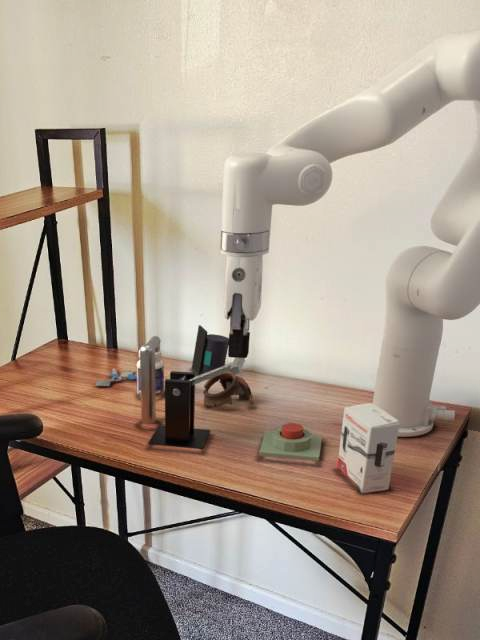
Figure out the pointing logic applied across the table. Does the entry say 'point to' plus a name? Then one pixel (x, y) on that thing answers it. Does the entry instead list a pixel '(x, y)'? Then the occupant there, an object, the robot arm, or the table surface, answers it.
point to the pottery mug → (227, 390)
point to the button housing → (291, 446)
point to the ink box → (368, 446)
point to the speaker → (209, 352)
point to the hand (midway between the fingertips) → (238, 355)
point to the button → (292, 431)
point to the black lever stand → (179, 415)
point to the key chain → (115, 375)
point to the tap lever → (217, 371)
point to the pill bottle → (158, 375)
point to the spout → (148, 380)
